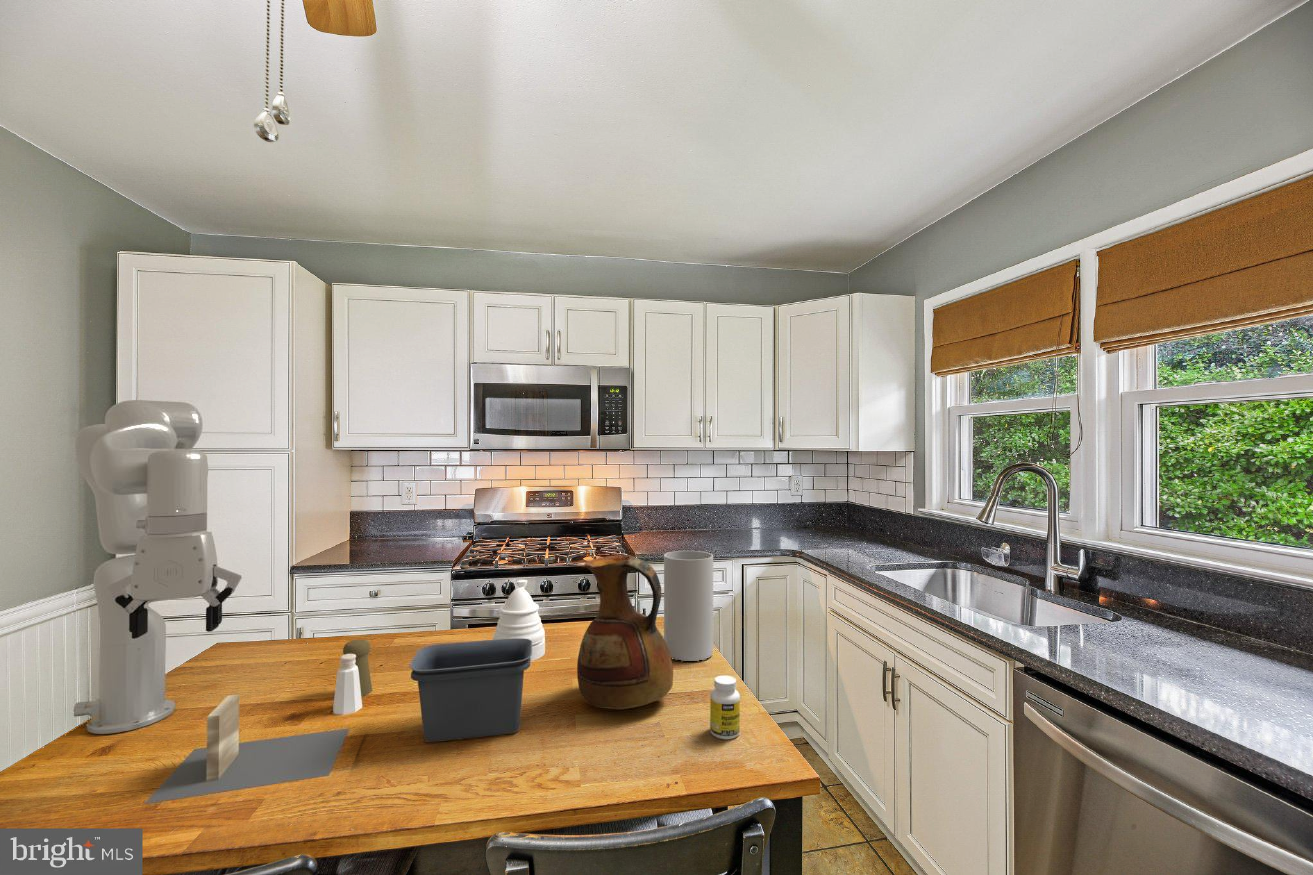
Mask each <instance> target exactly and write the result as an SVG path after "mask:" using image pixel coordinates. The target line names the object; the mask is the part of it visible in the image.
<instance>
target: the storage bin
mask: <svg viewBox="0 0 1313 875" xmlns="http://www.w3.org/2000/svg"><path fill="white" fill-rule="evenodd" d="M531 655H532V641H531V640H529V639H524V638H511V639H497V640H493V639H486V640H485V639H484V640H472V641H462V642H459V641H458V642H449V643H448V642H447V643H437V644H435V643H434V644H431V645H426V646H424V647H422V648H420V649H418V650H417V652H416V653H415V655H414V657H413V658H412V660H411V661H410V663H409V665H408V666H409V669H410V670H412V671H411V673H410V678H411V680H413V681H415V682H417V686H418V694H419V695H418V696H419V704H420V713H421V721H422V725H421V726H422V733H423V739H424V741H425V742H426V743H438V742H447V741H455V740H456V741H457V740H464V739H472V738H483V737H490V736H491V737H492V736H500V735H507V734H509V735H510V734H514V733H517V732H518V731H519V730H520V728H521V713H522V704H523V703H522V702H523V701H522V699H523V689H524V688H523V687H524V674H525V671H526V670H528V669H529V668H530V666H531V661H530V659H531Z"/></svg>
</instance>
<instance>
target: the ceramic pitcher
mask: <svg viewBox="0 0 1313 875" xmlns="http://www.w3.org/2000/svg"><path fill="white" fill-rule="evenodd" d="M584 566H585V567H586V569H588V570H589V571H590V572H591V573H592V575H593V576H594V577H595V580H596V583H597V589H598V593H599V609H598V614H597V615H596V617H595V618H594V619H593V620H592V621H591V622H590V623H589V625H588V626H587V629H586V630H585V632H584V635H583V636H582V639H581V643H580V647H579V652H578V656H577V664H576V666H577V667H576V669H577V670H576V672H577V673H576V676H577V683H578V684H577V685H578V690H579V693H580V695H581V697H582V699H583V701H585V703H587V704H589V705H590V706H592V707H596V708H601V709H612V710H613V709H615V710H626V709H630V708H632V709H633V708H636V707H641V706H645V705H648V704H651V703H653V702H658V701H661V699H663V698H664V697H665V696H667V695H668V693H670V691H671V690H672V688H673V686H674V666H673V661H672V659H671V656H670V652H669V649H668V647H667V644H666V642H665V640H664V636H663V635H662V633H661V632H660V630H659V629H658V627H657V625H656V624H657V623H656V621H657V616H658V613H659V608H660V604H661V602H662V601H661V599H662V586H661V582H660V579H659V575H658V573H657V572H656V570H655V569H654V568H653V567H652V566H651V565H650V564H649V563H648V562H646V561H645V560H643V559H641V558H637V557H635V556H634V555H630V554H625V555H621V554H617V555H608V556H601V557H599V558H594V559H589V560H587V561H585V562H584ZM630 570H633V571H636V572H638V573H639V574H640V575H642V576H643V577H644V579H646V580H647V582H648V584H649V585H650V589H651V592H652V605H651V610H650V612H649V614H648V615H645V614H643V613H640V612H639V611H637V609H635V608H634V606H633V604H632V601H631V600H630V595H629V590H628V574H629V571H630Z"/></svg>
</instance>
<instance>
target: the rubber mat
mask: <svg viewBox="0 0 1313 875" xmlns="http://www.w3.org/2000/svg"><path fill="white" fill-rule="evenodd" d="M349 731H350V727H348V728H340V729H333V730H325V731H317V732H310V733H303V734H302V733H301V734H297V735H289V736H281V737H273V738H266V739H260V740H259V739H258V740H252V741H245V742H239V754H238V755H237V756H236V757H235V759H234V760H233V761H232V763H231V764H230V765H229V767H228V768H227V769H226V770H225V772H224V773H223V774H222V776H221V777H220V778H219V779H218V780H212V781H206V778H207V746H206V747H200V748H194V749H193V750H192V751H191V752H190V753H189V754H188V756H187V757H186V758H185V759H184V760H183V761H182V762H181V763H180V764H179V765H178V766H177V768H175V770H173V772H172V773H171V774H170V775H169V776H168V777H167V778H166V779H165V781H163V783H162V784H161V785H160V786H159V787H158V788H157V789H156V790H155V791H154V792H153V793H152V794H151V796H150V797H149V798H148V799H147V800H146V801H145V802H144V803H143V805H148V804H150V805H151V804H155V803H160V802H168V801H175V800H182V799H187V798H193V797H199V796H207V795H212V794H213V795H214V794H221V793H227V792H231V791H232V792H233V791H239V790H246V789H251V788H258V787H264V786H272V785H278V784H283V783H285V784H286V783H289V782H296V781H304V780H310V779H315V778H316V779H317V778H321V777H327V776H330V774H331V771H332V770H333V768H334V767H333V766H335V765H334V764H335V763H336V760H337V758H338V755H339V753H340V750H341V749H342V746H343V744H344V742H345V740H346V737H347V735H348V733H349Z"/></svg>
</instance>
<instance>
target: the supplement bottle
mask: <svg viewBox="0 0 1313 875" xmlns="http://www.w3.org/2000/svg"><path fill="white" fill-rule="evenodd" d="M713 684H714V688H713V689H712V691H710V698H709V700H710V704H709V705H710V710H709V712H710V715H709V717H710V719H709V720H710V721H709V723H710V724H709V731H710V733H711V735H712V736H714V737H715V738H718V739H719V740H732V739H734V738H737V737H738V736H739V735H740V729H741V724H740V722H741V720H740V719H741V718H740V717H741V713H740V712H741V695H740V693H739V691H738V690H737V678H735V677H734V676H731V675H718V676H716V677H714V682H713Z"/></svg>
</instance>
